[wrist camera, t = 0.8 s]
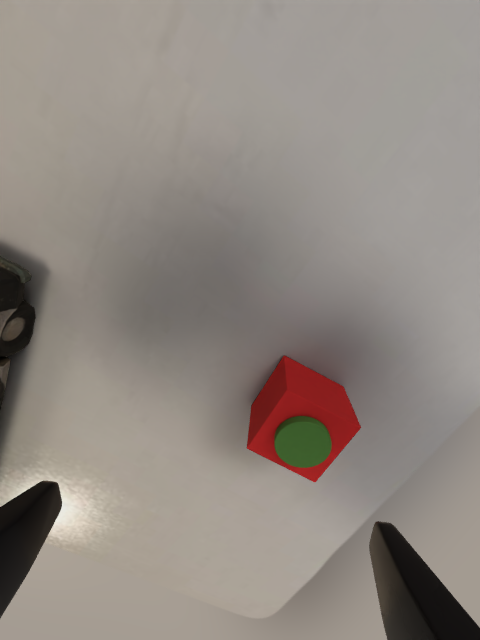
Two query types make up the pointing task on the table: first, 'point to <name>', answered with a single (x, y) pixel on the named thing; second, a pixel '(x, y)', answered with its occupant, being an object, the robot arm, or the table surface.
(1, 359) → the toy car
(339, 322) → the table surface
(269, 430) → the red cube
